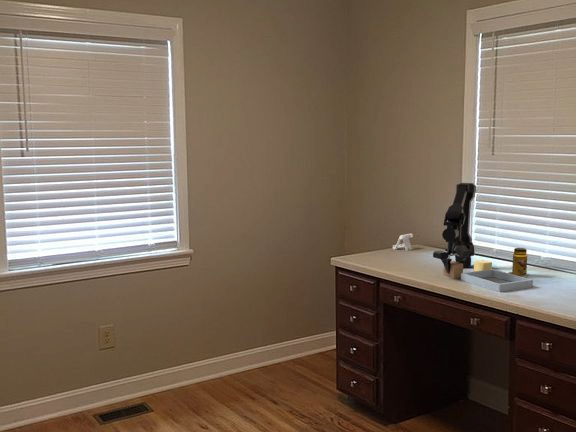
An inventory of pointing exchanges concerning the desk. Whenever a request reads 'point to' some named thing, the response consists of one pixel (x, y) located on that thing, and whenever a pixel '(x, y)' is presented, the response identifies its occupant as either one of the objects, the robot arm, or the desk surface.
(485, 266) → the mustard box
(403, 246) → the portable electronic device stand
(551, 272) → the desk surface
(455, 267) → the walnut block
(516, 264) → the condiment
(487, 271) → the gray tray
